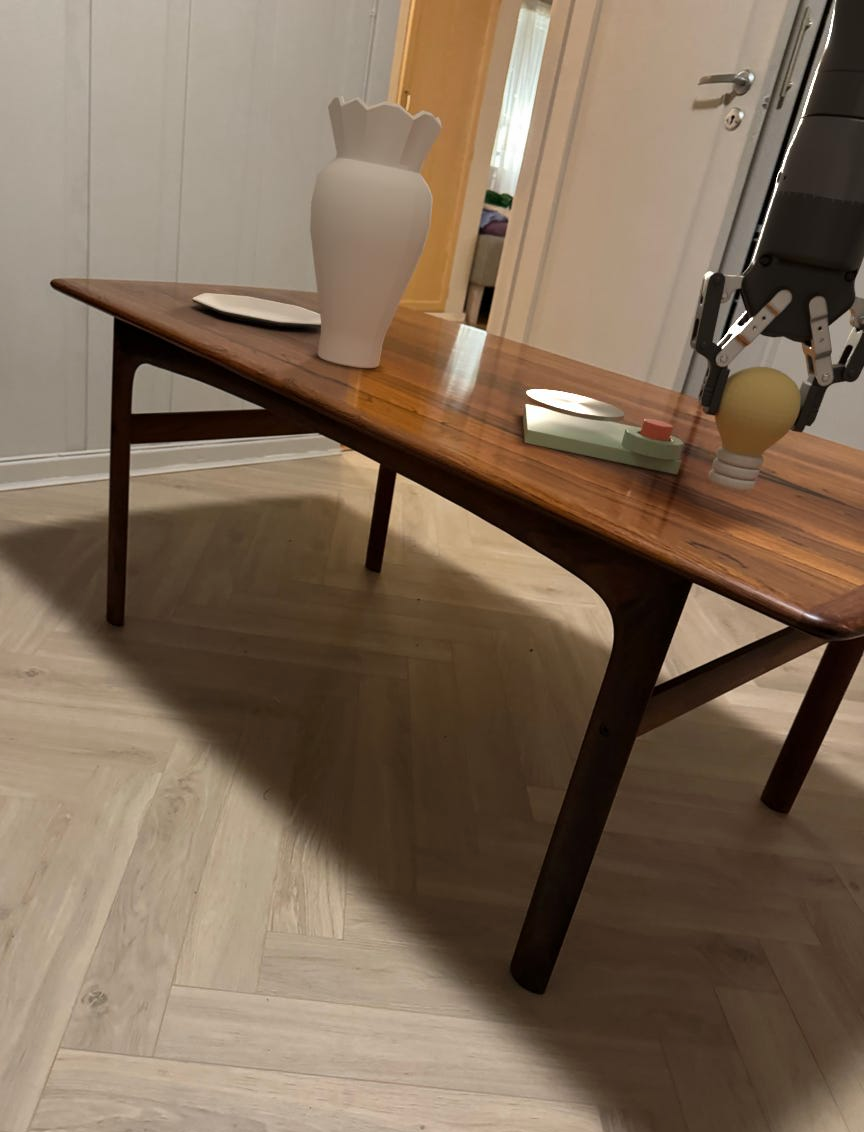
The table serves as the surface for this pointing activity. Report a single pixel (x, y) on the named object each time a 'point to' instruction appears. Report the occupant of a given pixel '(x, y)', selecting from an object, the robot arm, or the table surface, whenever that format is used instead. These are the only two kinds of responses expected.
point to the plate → (259, 310)
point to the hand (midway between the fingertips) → (751, 421)
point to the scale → (600, 440)
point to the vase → (369, 224)
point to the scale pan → (575, 405)
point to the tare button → (656, 429)
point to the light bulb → (751, 424)
